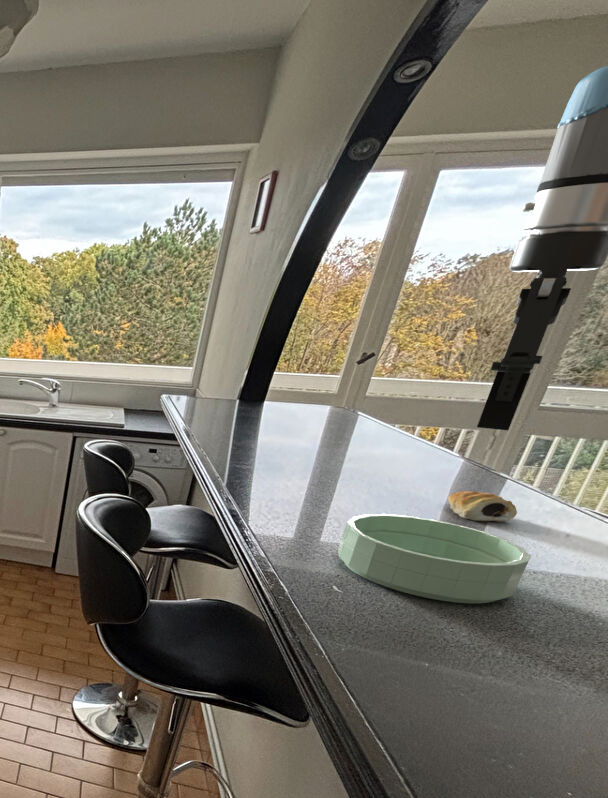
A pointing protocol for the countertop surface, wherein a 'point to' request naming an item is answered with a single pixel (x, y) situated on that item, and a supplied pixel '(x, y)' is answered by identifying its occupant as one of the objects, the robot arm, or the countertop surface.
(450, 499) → the pastry
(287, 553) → the countertop surface
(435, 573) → the bowl
